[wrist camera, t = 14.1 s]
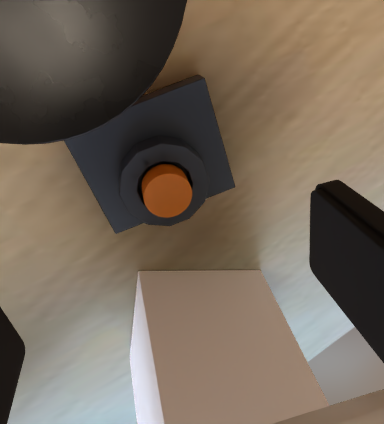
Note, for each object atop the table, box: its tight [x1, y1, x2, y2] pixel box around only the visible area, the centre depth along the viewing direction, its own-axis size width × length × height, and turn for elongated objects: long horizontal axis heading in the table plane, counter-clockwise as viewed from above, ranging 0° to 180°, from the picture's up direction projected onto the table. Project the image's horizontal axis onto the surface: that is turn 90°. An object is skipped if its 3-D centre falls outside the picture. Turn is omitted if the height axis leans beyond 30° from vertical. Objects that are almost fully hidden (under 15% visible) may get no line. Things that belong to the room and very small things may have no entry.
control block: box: [64, 75, 235, 234], centre depth 24 cm, size 10×8×4 cm
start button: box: [141, 164, 192, 217], centre depth 23 cm, size 3×3×2 cm
